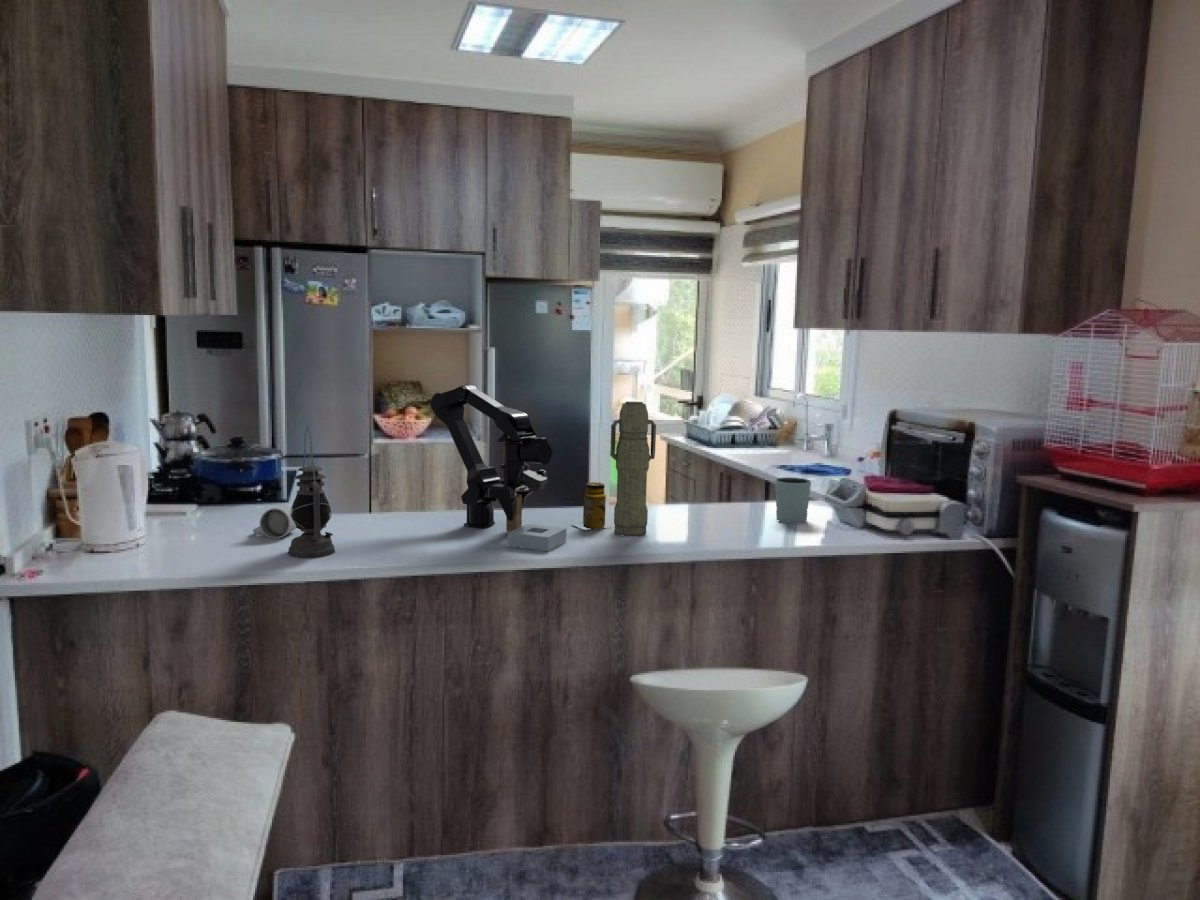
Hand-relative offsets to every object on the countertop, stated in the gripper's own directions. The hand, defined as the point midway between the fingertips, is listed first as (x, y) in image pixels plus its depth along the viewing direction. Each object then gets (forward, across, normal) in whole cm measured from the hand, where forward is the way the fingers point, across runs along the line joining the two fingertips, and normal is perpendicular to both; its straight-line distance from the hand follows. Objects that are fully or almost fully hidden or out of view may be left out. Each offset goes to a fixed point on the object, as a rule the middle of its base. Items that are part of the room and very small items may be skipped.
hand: (514, 518), depth 230 cm
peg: (+4, 0, 0) cm, 4 cm away
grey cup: (+4, +49, -65) cm, 81 cm away
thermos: (+4, +13, -28) cm, 31 cm away
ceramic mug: (+4, -30, +52) cm, 60 cm away
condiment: (+4, +15, -16) cm, 22 cm away
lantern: (+4, -40, +33) cm, 52 cm away
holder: (+4, -9, -11) cm, 15 cm away
